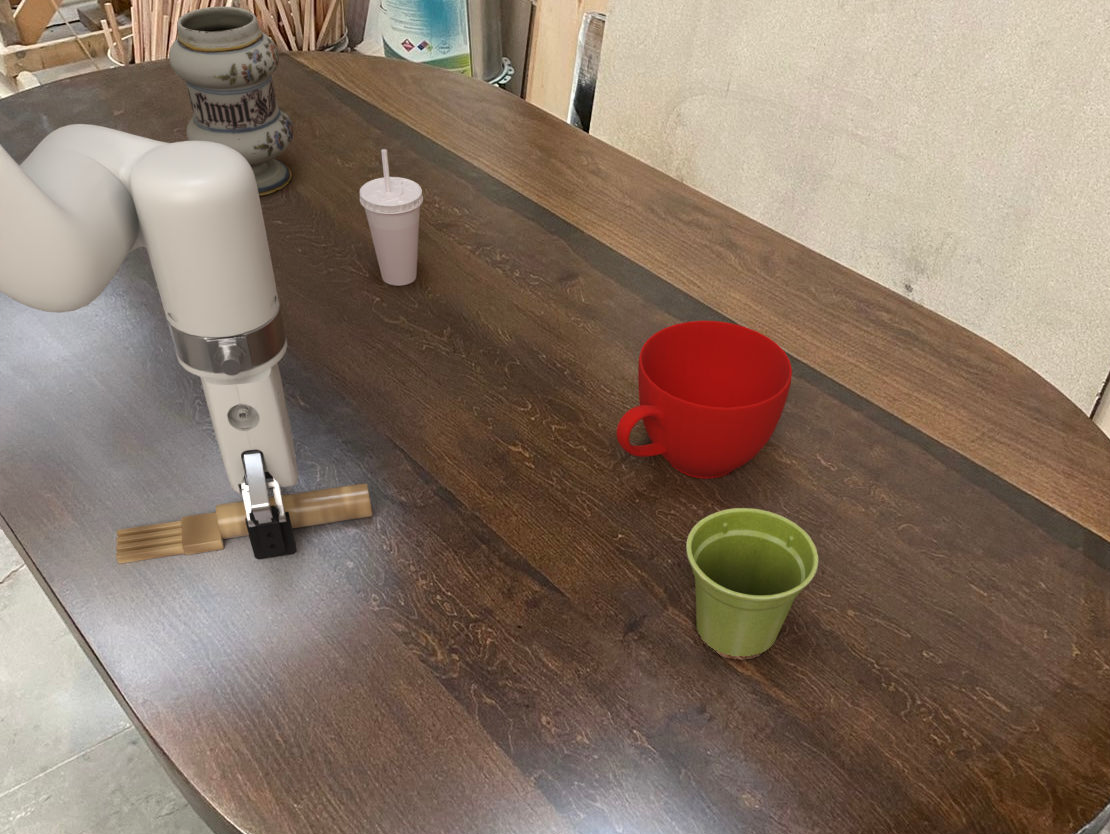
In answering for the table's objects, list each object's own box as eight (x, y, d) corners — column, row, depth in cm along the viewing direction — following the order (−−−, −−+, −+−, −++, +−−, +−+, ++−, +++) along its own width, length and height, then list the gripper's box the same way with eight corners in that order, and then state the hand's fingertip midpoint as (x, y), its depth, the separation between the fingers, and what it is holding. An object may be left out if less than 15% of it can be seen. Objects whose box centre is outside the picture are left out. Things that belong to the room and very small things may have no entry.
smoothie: (358, 285, 114) (342, 155, 104) (384, 257, 118) (371, 129, 108) (414, 297, 113) (402, 167, 103) (438, 268, 117) (429, 140, 107)
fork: (368, 498, 91) (364, 472, 89) (374, 526, 89) (370, 501, 86) (119, 535, 86) (109, 509, 84) (118, 565, 84) (108, 539, 82)
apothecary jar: (214, 153, 133) (179, -5, 120) (310, 159, 133) (286, 2, 120) (184, 199, 125) (144, 34, 112) (287, 205, 125) (259, 41, 112)
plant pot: (668, 588, 85) (679, 507, 79) (784, 586, 86) (804, 506, 80) (682, 680, 79) (695, 599, 72) (807, 677, 80) (831, 597, 73)
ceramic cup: (567, 462, 95) (570, 368, 88) (704, 395, 103) (717, 304, 96) (665, 542, 89) (677, 448, 82) (803, 464, 97) (825, 371, 89)
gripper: (295, 397, 70) (330, 580, 82) (273, 263, 81) (307, 442, 93) (174, 412, 68) (229, 597, 81) (169, 273, 79) (218, 454, 92)
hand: (271, 514), depth 87 cm, fingers open, 9 cm apart
